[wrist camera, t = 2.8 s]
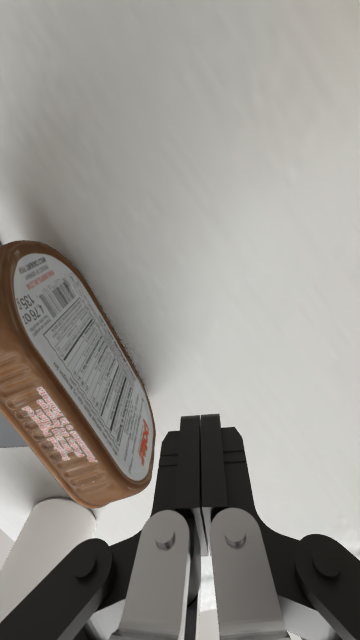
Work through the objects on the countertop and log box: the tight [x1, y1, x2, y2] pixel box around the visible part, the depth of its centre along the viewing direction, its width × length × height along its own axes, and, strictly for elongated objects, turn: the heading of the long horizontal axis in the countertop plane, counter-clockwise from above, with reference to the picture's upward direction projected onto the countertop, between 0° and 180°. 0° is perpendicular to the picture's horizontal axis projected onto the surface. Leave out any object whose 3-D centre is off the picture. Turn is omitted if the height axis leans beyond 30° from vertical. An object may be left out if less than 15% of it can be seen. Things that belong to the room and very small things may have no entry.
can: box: [0, 497, 97, 622], centre depth 23 cm, size 6×6×12 cm
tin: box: [0, 240, 156, 508], centre depth 15 cm, size 15×3×8 cm, turn 22°
